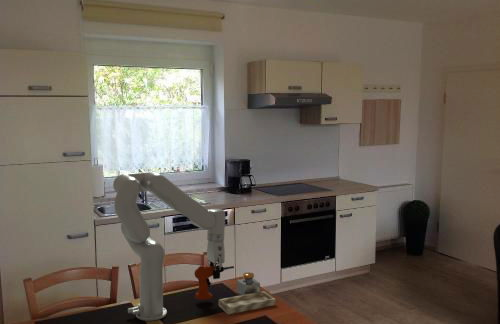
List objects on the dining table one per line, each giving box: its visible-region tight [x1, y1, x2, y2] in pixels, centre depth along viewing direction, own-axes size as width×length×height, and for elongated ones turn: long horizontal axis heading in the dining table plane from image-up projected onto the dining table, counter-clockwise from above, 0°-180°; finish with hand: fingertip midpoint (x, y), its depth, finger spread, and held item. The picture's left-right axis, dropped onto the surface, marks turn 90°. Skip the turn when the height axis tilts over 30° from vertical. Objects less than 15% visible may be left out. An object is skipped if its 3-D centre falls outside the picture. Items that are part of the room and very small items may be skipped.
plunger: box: [242, 272, 255, 284], centre depth 215 cm, size 5×5×9 cm
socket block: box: [236, 277, 261, 296], centre depth 215 cm, size 8×8×6 cm
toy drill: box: [193, 265, 235, 301], centre depth 205 cm, size 5×19×15 cm, turn 106°
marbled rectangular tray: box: [218, 291, 276, 315], centre depth 202 cm, size 23×10×3 cm, turn 117°
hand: (214, 276), depth 205 cm, fingers closed on toy drill, 4 cm apart
